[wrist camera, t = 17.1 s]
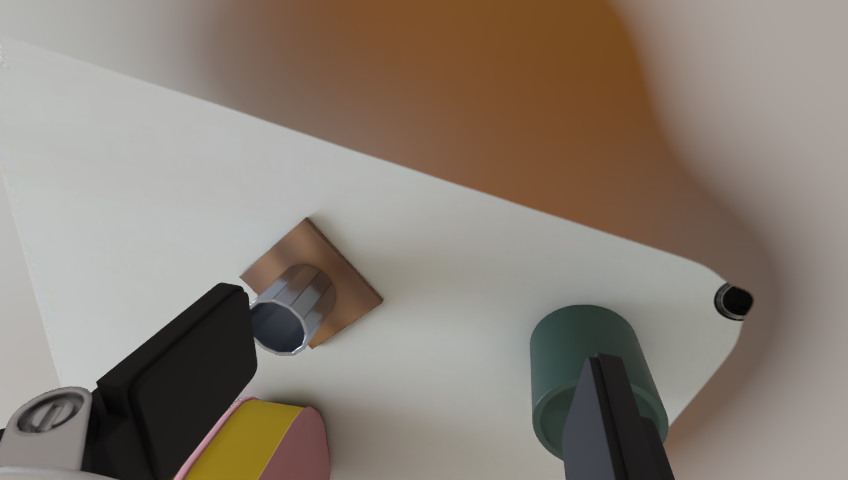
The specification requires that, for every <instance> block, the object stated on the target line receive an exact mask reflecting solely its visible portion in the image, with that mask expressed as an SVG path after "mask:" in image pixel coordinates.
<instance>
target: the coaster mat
mask: <svg viewBox="0 0 848 480" xmlns="http://www.w3.org/2000/svg"><path fill="white" fill-rule="evenodd" d="M296 264H307V265H311V266H314V267H316V268H318V269H320V270H321V271H323V272H324V273H325V274H326V275H327V276H328V277H329V278H330V279H331V281H332V283H333V284H334V287H335V290H336V302H335V304H334V307H333V309H332V311H331V312H330V313H329V315H328V316H327V318H326V319H325V321H324V322H323V324H322V325H321V326H320V328H319V329H318V331H317V332H316V334H315V335H314V336H313V338H312V339H311V341H310V342H309V344H308V346H309V347H310V348H311V349H313V348H314V347H316V346H317V345H319V344H320V343H322V342H323V341H325V340H326V339H328V338H330V337H331V336H333V335H334V334H336V333H337V332H339V331H340V330H342V329H343V328H345V327H346V326H348V325H349V324H351V323H352V322H354V321H355V320H357V319H358V318H360V317H361V316H363V315H364V314H366V313H367V312H369V311H370V310H372V309H373V308H375V307H376V306H378V305H379V304H381V303H382V302H383V299H382V298H381V297H380V296H379V295H378V293H377V292H376V291H375V290H374V289H373V288H372V287H371V286H370V285H369V284H368V283H367V282H366V281H365V279H364V278H363V277H362V276H361V275H360V274H359V273H358V272H357V271H356V270H355V269H354V268H353V266H352V265H351V264H350V263H349V262H348V261H347V260H346V259H345V258H344V257H343V256H342V255H341V254H340V252H339V251H338V250H337V249H336V248H335V247H334V246H333V245H332V244H331V243H330V242H329V241H328V240H327V238H326V237H325V236H324V235H323V234H322V233H321V232H320V231H319V230H318V229H317V228H316V227H315V226H314V224H313V223H312V222H311V221H310V220H309V219H308V218H305V219H304V220H303V221H302V222H300V223H299V224H298V225H297V226H296V227H295V228H294V229H292V230H291V231H290V232H289V233H288V234H287V235H286V236H284V237H283V238H282V239H281V240H280V241H279V242H278V243H276V244H275V245H274V246H273V247H272V248H271V249H270V250H269V251H267V252H266V253H265V254H264V255H263V256H262V257H261V258H259V259H258V260H257V261H256V262H255V263H254V264H253V265H251V266H250V267H249V268H248V269H247V270H246V271H245V272H243V273H242V274H241V275H240V276H239V277H240V278H241V279H242V280H243V281H244V282H245V283H246V284H247V285H248V286H249V287H250V288H251V289H252V290H253V291H254V292H255V293H256V294H257V295H258V296H259V295H260V294H261V293H262V292H263V291H264V290H265V289H266V288H267V287H268V286H269V285H270V284H271V283H272V282H273V281H274V280H275V279H276V278H277V277H278V276H279V275H280V274H281V273H282V272H284V271H285V270H286V269H287V268H289V267H290V266H292V265H296Z"/></svg>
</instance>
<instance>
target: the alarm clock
mask: <svg viewBox="0 0 848 480" xmlns="http://www.w3.org/2000/svg"><path fill="white" fill-rule="evenodd" d="M329 479H330V458H329V452H328V445H327V438H326V432H325V426H324V423H323V420H322V418H321V416H320V414H319V412H318V411H317V410H315V409H314V408H312V407H310V406H308V407H307V408H303V407H297V406H291V405H285V404H279V403H273V402H267V401H261V400H259V399H257V398H255V397H247V398H244V399H242V400H239V401H237V402H236V403H235V404H234V405H233V406H232V407H231V408H230V409H229V410H228V411H227V412H226V413H225V414H223V416H222V417H221V418H220V419H219V421H218V422H217V423H216V425H215V426H214V427H213V428H212V430H211V431H210V432H209V433H208V435H207V436H206V437H205V438H204V440H203V441H202V442H201V443H200V445H199V446H198V447H197V449H196V450H195V451H194V452H193V454H192V455H191V456H190V457H189V459H188V460H187V461H186V462H185V464H184V465H183V466H182V468H181V469H180V471H179V472H178V474H177V476H176V477H175V479H174V480H329Z"/></svg>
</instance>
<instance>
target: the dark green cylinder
mask: <svg viewBox="0 0 848 480" xmlns="http://www.w3.org/2000/svg"><path fill="white" fill-rule="evenodd" d="M597 352H599V353H604V354H609V355H615V356H620V357H621V358H622V360H623V363H624V366H625V369H626V373H627V376H628V379H629V382H630V385H631V388H632V392H633V395H634V398H635V401H636V404H637V407H638V410H639V414H640V416H643V417H648V418H651V419H652V420H653V421H654V423H655V425H656V427H657V430H658V433H659V436H660V439H661V441H662V444H663V443H664V442H665V440H666V437H667V434H668V428H669V425H668V418H667V414H666V411H665V409H664V406H663V404H662V401H661V399H660V396H659V393H658V391H657V388H656V386H655V383H654V381H653V378H652V375H651V373H650V370H649V368H648V365H647V363H646V360H645V357H644V355H643V352H642V350H641V347H640V345H639V342H638V339H637V337H636V335H635V332H634V330H633V329H632V327H631V326H630V325H629V323H628V322H627V321H626V320H625V319H623V318H622V317H621V316H619V315H618V314H616V313H614V312H612V311H610V310H608V309H605V308H602V307H598V306H592V305H575V306H569V307H565V308H562V309H559V310H556V311H554V312H552V313H551V314H549V315H547V316H546V317H545V318H544V319H542V320H541V321H540V323H539V324H538V325H537V326H536V328H535V329H534V331H533V333H532V337H531V341H530V356H531V389H532V422H533V428H534V431H535V434H536V436H537V438H538V439H539V441H540V442H541V444H542V445H543V446H544V447H545V448H546V449H547V450H548V451H549V452H550V453H552V454H553V455H554V456H556V457H558V458H559V459H561V460H563V461H564V457H563V448H562V436H563V430H564V426H565V423H566V420H567V417H568V414H569V410H570V407H571V404H572V401H573V398H574V394H575V391H576V388H577V385H578V382H579V378H580V375H581V372H582V369H583V366H584V362H585V359H586V358H587V357H594V355H595V353H597Z"/></svg>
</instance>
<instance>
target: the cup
mask: <svg viewBox="0 0 848 480" xmlns="http://www.w3.org/2000/svg"><path fill="white" fill-rule="evenodd" d="M335 302H336V290H335V287H334V284H333V283H332V281H331V279H330V278H329V277H328V276H327V275H326V274H325V273H324V272H323V271H321V270H320V269H318V268H316V267H314V266H311V265H307V264H296V265H292V266H290V267H289V268H287V269H286V270H285V271H284V272H282V273H281V274H280V275H279V276H278V277H277V278H276V279H275V280H274V281H273V282H272V283H271V284H270V285H269V286H268V287H267V288H266V289H265V290H264V291H263V292H262V293H261V294H260V295H259V296H258V297H257V298H256V299H255V300H254V301H253V302H252V303H251V304H250V312H251V320H252V327H253V334H254V341H255V342H256V343H257V344H258V345H259V346H260V347H261V348H263V349H264V350H267V351H269V352H271V353H274V354H276V355H279V356H290V355H296V354H297V353H299V352H300V351H302V350H303V349H305V348H306V346H307V345H308V344H309V342H310V341H311V339H312V338H313V336H314V335H315V334H316V332H317V331H318V329H319V328H320V326H321V325H322V324H323V322H324V321H325V319H326V318H327V316H328V315H329V313H330V312H331V311H332V309H333V307H334V304H335Z"/></svg>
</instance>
